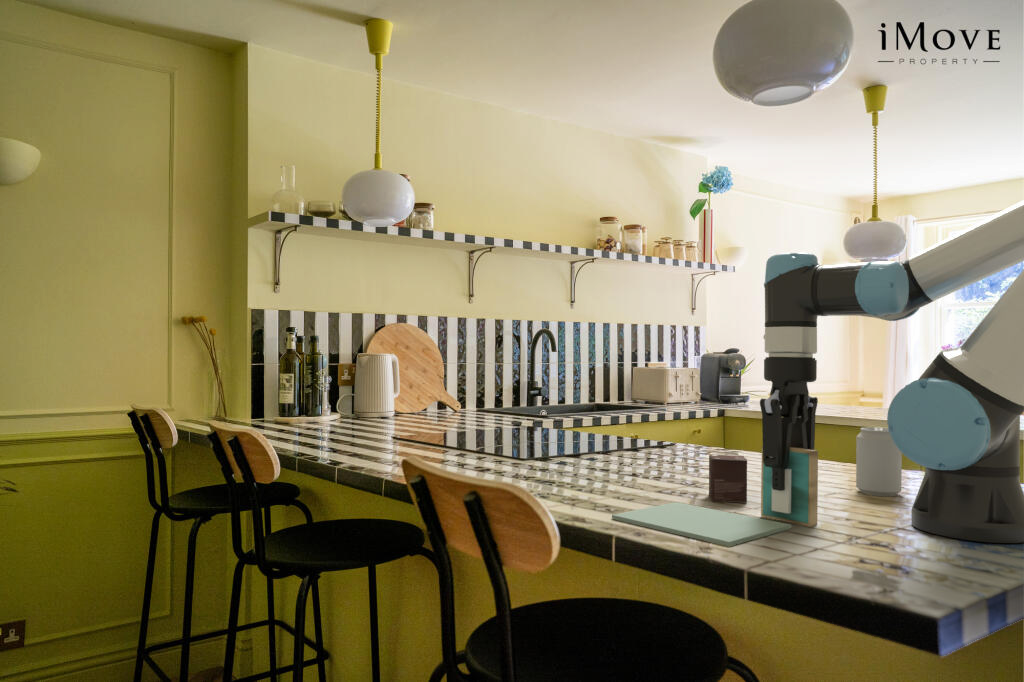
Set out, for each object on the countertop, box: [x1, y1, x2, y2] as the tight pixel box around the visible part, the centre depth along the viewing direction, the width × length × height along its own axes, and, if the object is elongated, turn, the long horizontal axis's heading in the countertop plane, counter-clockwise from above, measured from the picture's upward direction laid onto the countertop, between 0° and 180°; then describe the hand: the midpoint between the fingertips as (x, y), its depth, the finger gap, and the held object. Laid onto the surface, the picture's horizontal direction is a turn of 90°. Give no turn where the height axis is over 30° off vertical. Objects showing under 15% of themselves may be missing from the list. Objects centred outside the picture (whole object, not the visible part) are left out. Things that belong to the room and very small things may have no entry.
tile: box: [760, 445, 819, 527], centre depth 111 cm, size 8×2×11 cm, turn 41°
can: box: [855, 426, 903, 497], centre depth 135 cm, size 8×8×12 cm
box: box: [708, 454, 748, 504], centre depth 127 cm, size 6×6×7 cm
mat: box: [611, 501, 792, 547], centre depth 108 cm, size 20×16×1 cm
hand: (788, 509), depth 111 cm, fingers open, 4 cm apart
